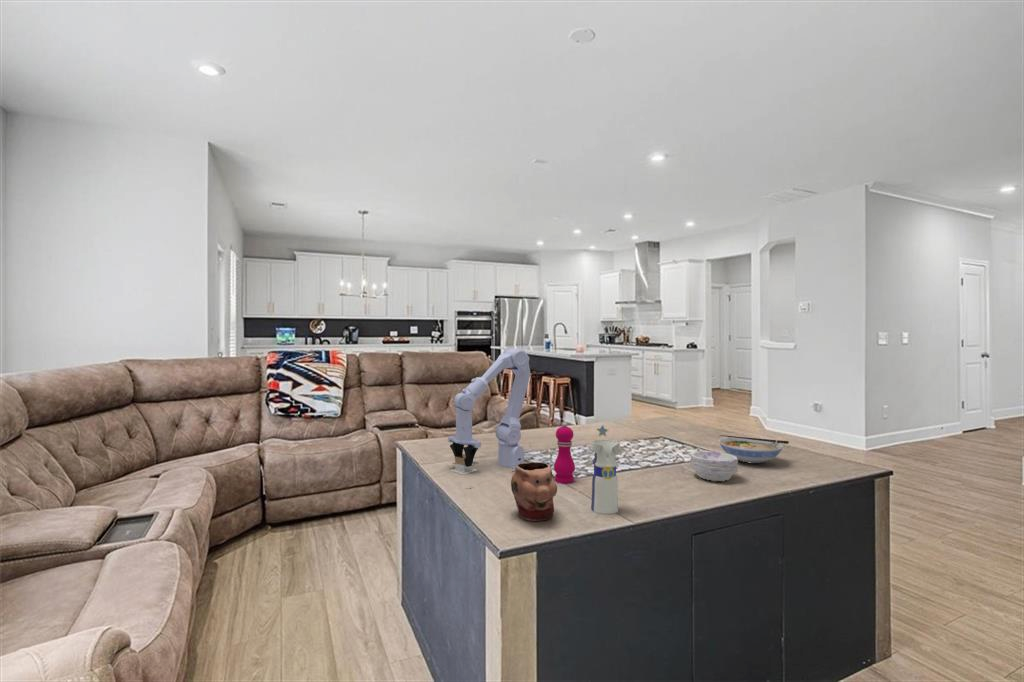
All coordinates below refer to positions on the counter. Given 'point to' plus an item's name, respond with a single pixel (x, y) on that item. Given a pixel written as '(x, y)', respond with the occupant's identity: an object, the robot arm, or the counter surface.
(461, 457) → the block
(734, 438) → the ramen bowl
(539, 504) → the decorative planter
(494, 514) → the counter surface
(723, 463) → the paper bowls
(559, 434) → the pepper mill
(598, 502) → the white figurine with star
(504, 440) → the robot arm
